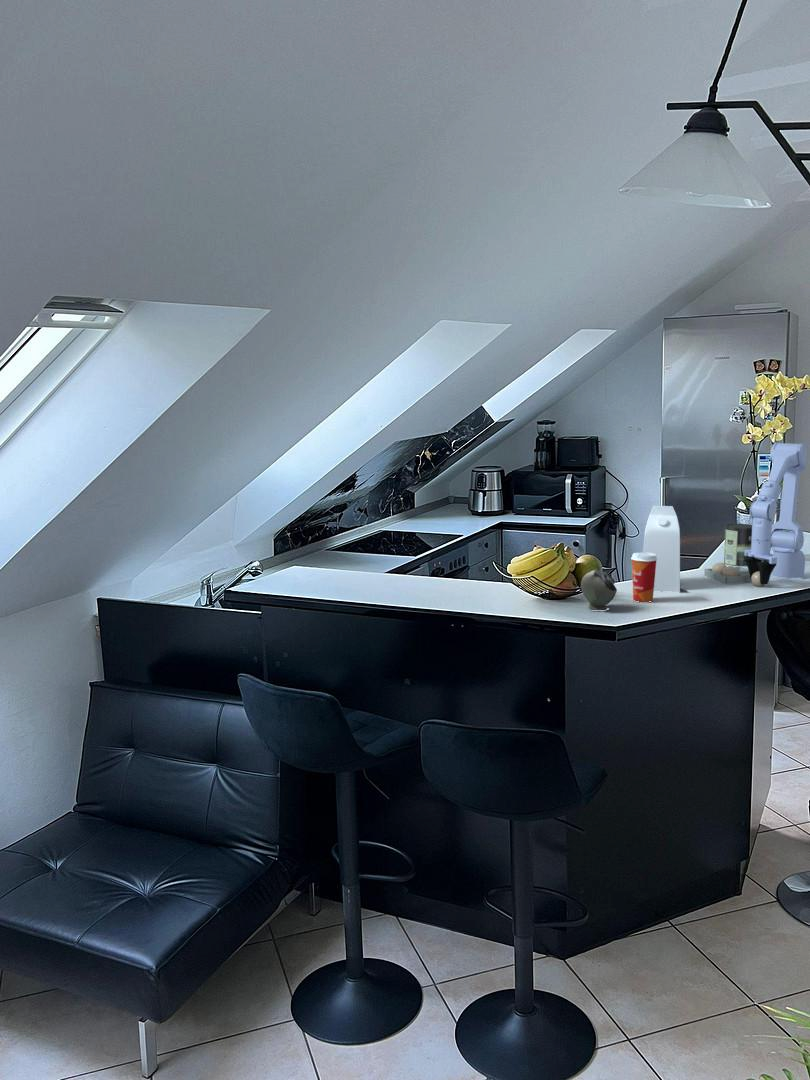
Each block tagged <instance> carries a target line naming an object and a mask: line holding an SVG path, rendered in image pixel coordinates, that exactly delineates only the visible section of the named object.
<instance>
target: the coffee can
mask: <svg viewBox="0 0 810 1080" xmlns="http://www.w3.org/2000/svg"><path fill="white" fill-rule="evenodd" d="M724 527H725V528H724V549H723V550H724V552H723V553H724V554H723V563H724V564H725V565H726V566H733V567H747V565H746V563H745V561H744V559H745V558H748V557H749V556H745V555H744V553H745V550H746V549H751V541H752V524H748V523H747V524H746V523H728V524H725V525H724Z"/></svg>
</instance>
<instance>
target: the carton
mask: <svg viewBox="0 0 810 1080" xmlns="http://www.w3.org/2000/svg"><path fill="white" fill-rule="evenodd" d="M734 567H735V568H736V569H737V571H738V576H729V577H727V576H724V575H722V573H723V572H720V573H716V572H713V571H712V568H704V577H707V578H709V579H712V580H715V581H717V582H720V583H722V584H726V585H729V584H730V585H731V584H744V583H745V584H746V583H748V584H749V583H752V581H751V579H750V575H749V570H748V568H745V567H744V566H734Z"/></svg>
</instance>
